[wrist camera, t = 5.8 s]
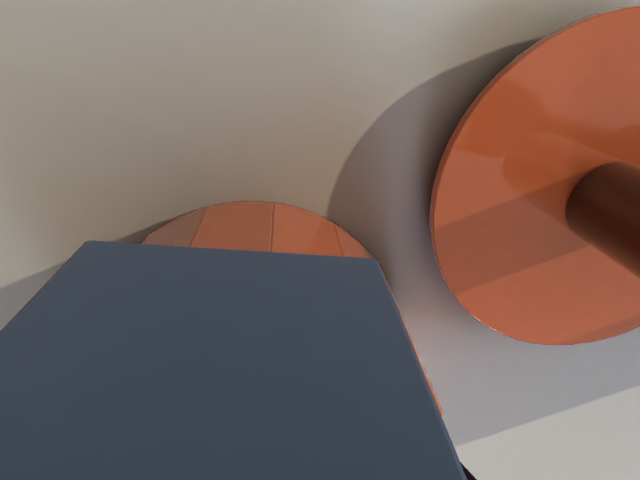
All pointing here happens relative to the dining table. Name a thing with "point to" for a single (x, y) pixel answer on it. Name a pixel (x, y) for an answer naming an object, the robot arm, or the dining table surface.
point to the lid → (549, 189)
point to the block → (215, 372)
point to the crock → (265, 236)
